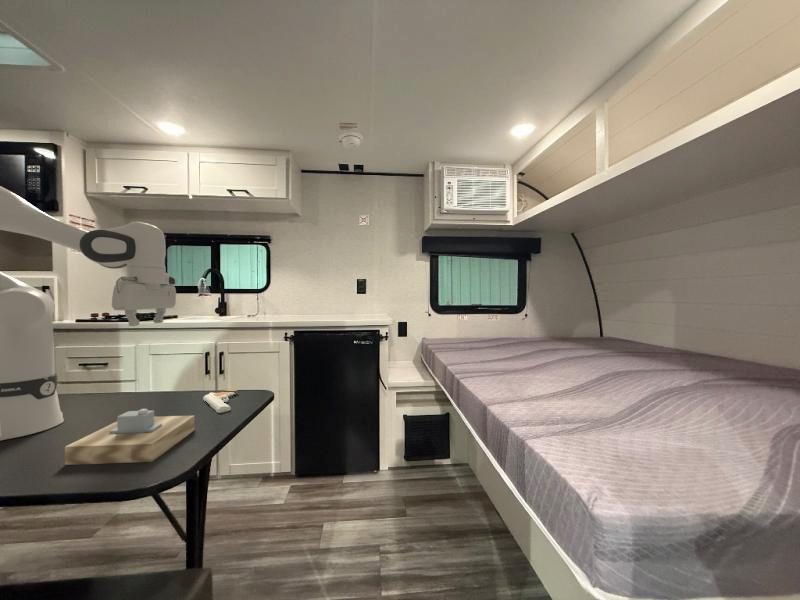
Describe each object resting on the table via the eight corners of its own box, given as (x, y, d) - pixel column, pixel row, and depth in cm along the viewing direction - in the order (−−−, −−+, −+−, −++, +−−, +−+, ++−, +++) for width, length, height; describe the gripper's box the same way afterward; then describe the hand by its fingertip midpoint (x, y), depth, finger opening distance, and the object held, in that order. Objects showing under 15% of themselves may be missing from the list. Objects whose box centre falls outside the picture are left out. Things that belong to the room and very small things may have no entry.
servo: (109, 450, 73) (109, 413, 73) (120, 443, 76) (120, 408, 76) (152, 448, 74) (152, 412, 74) (162, 441, 77) (161, 407, 77)
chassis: (65, 464, 67) (64, 446, 67) (125, 432, 83) (125, 417, 82) (152, 461, 68) (152, 443, 68) (194, 429, 84) (194, 415, 84)
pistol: (254, 406, 104) (217, 415, 95) (233, 393, 117) (199, 400, 109) (254, 399, 104) (217, 407, 95) (233, 386, 117) (199, 393, 109)
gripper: (129, 275, 81) (129, 328, 81) (180, 280, 101) (179, 321, 101) (104, 275, 80) (104, 327, 80) (160, 279, 101) (160, 321, 101)
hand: (146, 324), depth 91 cm, fingers open, 8 cm apart
